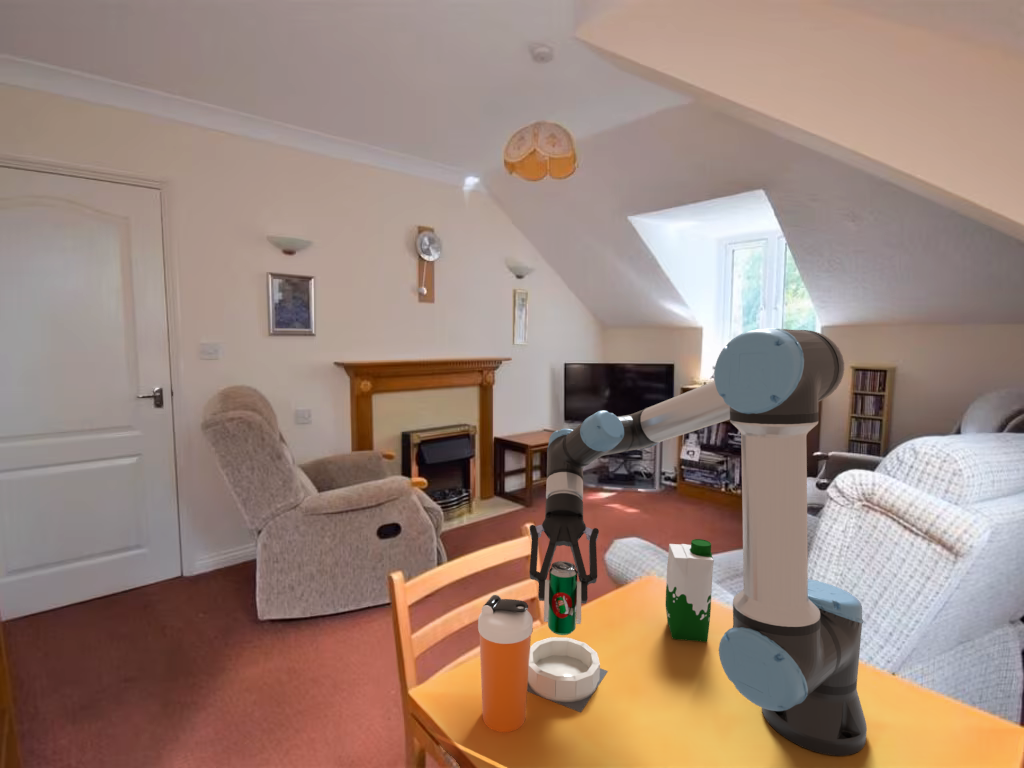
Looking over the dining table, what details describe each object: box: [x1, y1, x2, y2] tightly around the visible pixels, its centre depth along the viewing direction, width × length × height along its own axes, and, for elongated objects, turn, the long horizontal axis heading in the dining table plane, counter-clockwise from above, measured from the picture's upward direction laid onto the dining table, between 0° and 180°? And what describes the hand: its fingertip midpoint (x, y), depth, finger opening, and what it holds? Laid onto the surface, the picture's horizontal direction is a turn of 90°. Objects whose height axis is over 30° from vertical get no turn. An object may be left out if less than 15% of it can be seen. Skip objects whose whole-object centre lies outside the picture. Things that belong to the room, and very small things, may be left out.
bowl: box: [528, 636, 601, 702], centre depth 99 cm, size 13×13×4 cm
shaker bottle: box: [477, 594, 534, 733], centre depth 88 cm, size 9×9×20 cm
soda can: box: [547, 560, 578, 636], centre depth 98 cm, size 5×5×12 cm
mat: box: [527, 667, 609, 713], centre depth 99 cm, size 13×13×1 cm
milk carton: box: [665, 538, 715, 643], centre depth 115 cm, size 9×9×20 cm
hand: (562, 620), depth 95 cm, fingers closed on soda can, 5 cm apart
